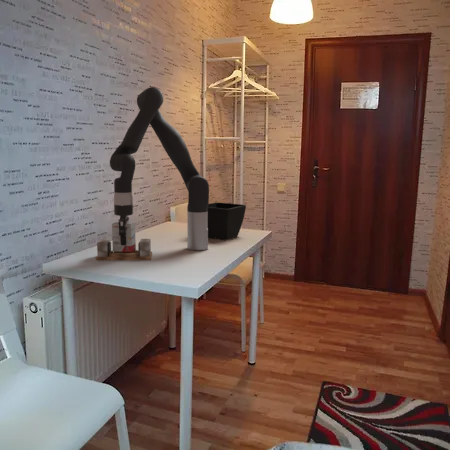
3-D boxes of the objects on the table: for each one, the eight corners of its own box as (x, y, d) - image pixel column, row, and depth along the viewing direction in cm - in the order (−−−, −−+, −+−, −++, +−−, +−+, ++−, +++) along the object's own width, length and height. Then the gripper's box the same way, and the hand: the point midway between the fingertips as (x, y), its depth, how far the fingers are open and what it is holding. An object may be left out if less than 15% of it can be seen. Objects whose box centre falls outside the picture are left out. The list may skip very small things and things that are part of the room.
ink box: (136, 250, 187) (135, 222, 185) (131, 252, 182) (131, 224, 180) (117, 248, 188) (116, 221, 186) (112, 251, 184) (111, 223, 182)
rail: (152, 254, 191) (151, 238, 190) (150, 259, 182) (150, 242, 180) (99, 255, 189) (99, 238, 188) (95, 260, 179) (95, 243, 178)
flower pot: (227, 241, 220) (228, 208, 218) (196, 237, 230) (196, 205, 227) (246, 236, 236) (247, 204, 234) (216, 232, 246) (216, 202, 243)
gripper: (116, 201, 189) (117, 240, 191) (111, 205, 174) (112, 247, 177) (134, 201, 189) (135, 240, 192) (130, 205, 175) (131, 247, 178)
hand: (124, 243), depth 185 cm, fingers closed on ink box, 5 cm apart
